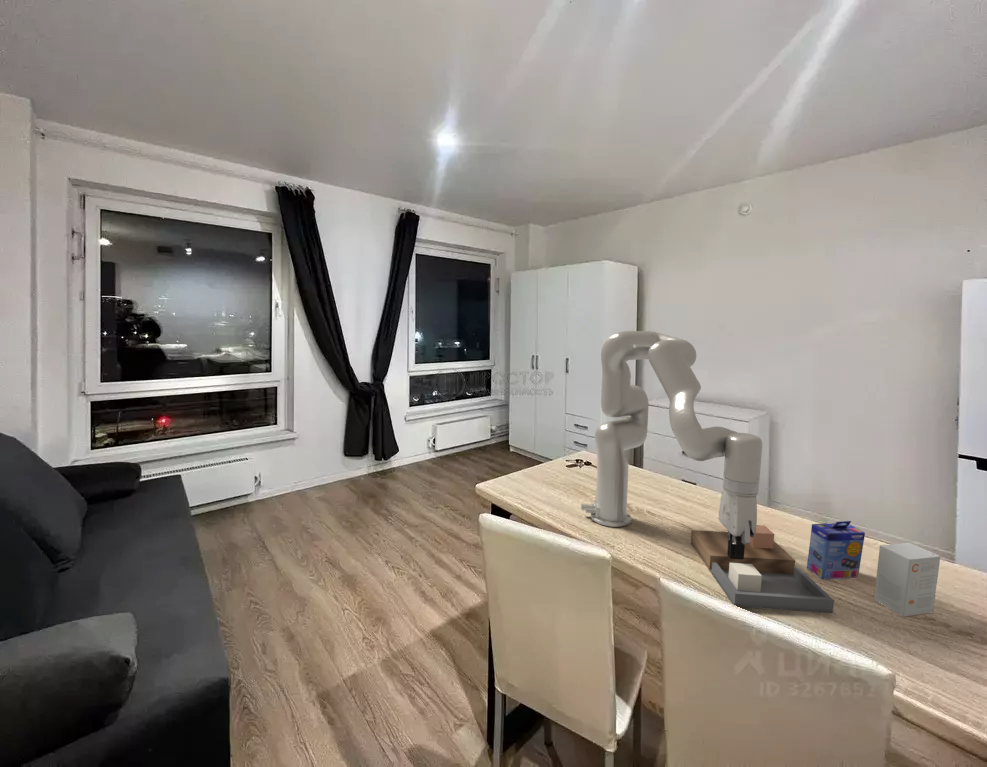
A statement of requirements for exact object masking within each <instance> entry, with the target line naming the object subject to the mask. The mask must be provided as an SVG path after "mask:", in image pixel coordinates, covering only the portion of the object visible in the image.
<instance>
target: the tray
mask: <svg viewBox="0 0 987 767" xmlns="http://www.w3.org/2000/svg"><path fill="white" fill-rule="evenodd" d="M709 572H710V574H711V575H712V577H713V578H714V580H715V581H716V582H717V584H718V585H719V587H720V588H721V589H722V591H723V592H724V593H725V595H726V597H727V598H728V600H730V603H731V604H732V605H733V604H734V605H736V606H739V608H748V609H749V608H751V609H763V610H764V609H766V610H779V611H793V612H794V611H795V612H796V611H798V612H809V613H823V614H833V613H834V606H835V599H834V598H833V597H831V596H830V595H829V594H828V593H827V592H826V591H825V590H824V589H823V588H822V587H821V586H819V585H818V584H817V583H816V581H814V580H813V579H812V578H811V577H810V576H809V575H807V573H805V572H804V571H803V570H802V569H801V567H798V566H795V567H794V574H779V573H763V572H759V573H760V574H761V575H762V580H761V591H760V592H753V591H739V590H737V589H736V588H735V586H734V585H733V584H732V582H731V581H730V580H729V578H728V577H729V570H722V569H721V568H720V566H719V565H718V564H717V563H715V562H712V569H710V570H709ZM734 605H733V606H734Z"/></svg>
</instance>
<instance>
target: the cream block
mask: <svg viewBox="0 0 987 767" xmlns="http://www.w3.org/2000/svg"><path fill="white" fill-rule="evenodd" d="M728 578H729V580H730V581H731V582H732V584H733V585H734V586H735V588H736V589H737V590H739V591H753V592H760V591H761V580H762V575H761V574H760V573H759V572H758V571H757V570H756V568H755V567H754V566H753V565H752V564H743V563H730V564H729V577H728Z"/></svg>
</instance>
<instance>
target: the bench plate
mask: <svg viewBox="0 0 987 767" xmlns="http://www.w3.org/2000/svg"><path fill="white" fill-rule="evenodd" d="M728 540H729V539H728V531H717V530H716V531H715V530H714V531H713V530H700V529H699V530H696V529H695V530H694V529H692V530H691V531H690V545H691V547H693V549H694V550H695V552H696V553H698V554H697V555H698V556H699V558H700V560H701V561H702V562H703V563H705V564H704V565H705V566H706V568H707V569H708V571H710V569H712V562H715V563H717V564H718V565H719V566H720V568H721V569H722V570H729V564H730V563H743V564H752V565H753V566H754V567H755V568H756V570H757V571H758V572H763V573H779V574H794V567H796V560H797V559H795V558H794V557H792V555H790V554H789V553H788V552H787V551H786V550H785V549H784V548H783V547H782V546H780V545H779V544H778V543H777V541H775V540H774V544H773V549H770V548H753V547H752V546H751V545H750V544H746V545H745V549H744V559H731V558H730V557H729V556H728V555H727V550H728Z"/></svg>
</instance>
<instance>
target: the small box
mask: <svg viewBox="0 0 987 767" xmlns="http://www.w3.org/2000/svg"><path fill="white" fill-rule="evenodd" d="M878 551H879V552H878V562H877V568H876V570H877V571H876V577H875V578H876V580H875V590H874V595H873V596H874V597H873V599H874V601H875V600H876V602H877V601H878V603H879V602H880V603H879V604H881V603H882V604H883V606H884V605H885V606H884V607H886V606H887V607H888V609H889V608H890V609H889V610H891V611H893V612H894V611H895V612H894V613H896V614H898V615H899V614H900V615H899V616H901V617H903V618H904V617H910V616H916V615H924V614H931V613H934V608H935V601H936V600H935V599H936V592H937V591H936V590H937V586H938V585H937V584H938V578H939V577H938V576H939V570H940V561H941V556H940V555H939V554H937V553H934V552H932V551H931V550H930V551H929V550H928V549H926V548H923V547H920V546H918V545H916V544H914V543H911V542H901V543H894V544H893V543H892V544H883V545H879V550H878ZM882 604H881V605H882ZM887 607H886V608H887Z"/></svg>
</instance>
